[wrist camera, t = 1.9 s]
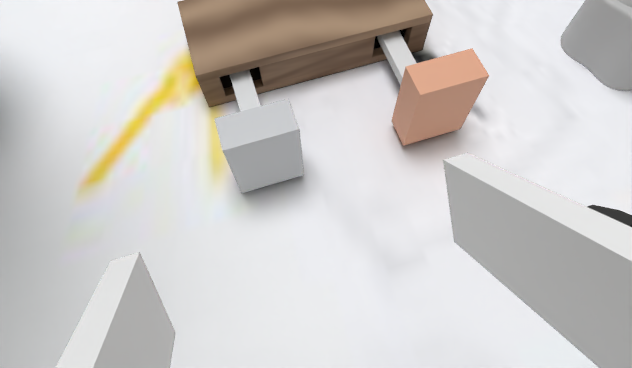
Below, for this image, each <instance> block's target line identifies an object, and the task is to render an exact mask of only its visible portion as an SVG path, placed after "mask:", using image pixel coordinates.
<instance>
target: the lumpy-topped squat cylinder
mask: <svg viewBox="0 0 632 368" xmlns="http://www.w3.org/2000/svg"><path fill="white" fill-rule="evenodd" d="M561 47H562V49H563V50H564V52H565V53H566V54H567V55H568V56H570V57H571V58H572V59H574V60H575V61H577V62H579V63H580V64H582V65H583V66H585V67H586V68H587V69H588V70H589V71H590V72H591V73H592V74H593V75H594V76H595V77H596V78H597V79H598V80H599V81H600V82H601V83H603V84H604V85H606V86H607V87H609V88H612V89H615V90H621V91H630V90H632V0H585V2H584V3H583V5H582V6H581V8H580V9H579V10H578V12H577V13H576V15H575V16H574V18H573V19H572V21H571V22H570V24H569V25H568V26H567V28H566V29H565V31H564V32H563V34H562V36H561Z"/></svg>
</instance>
